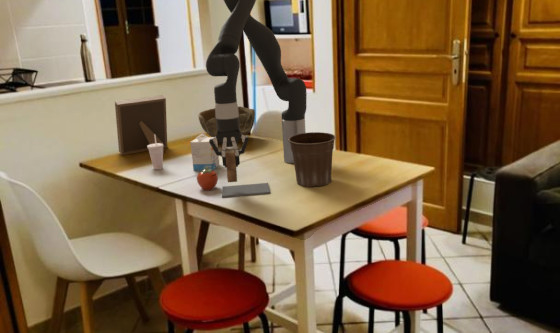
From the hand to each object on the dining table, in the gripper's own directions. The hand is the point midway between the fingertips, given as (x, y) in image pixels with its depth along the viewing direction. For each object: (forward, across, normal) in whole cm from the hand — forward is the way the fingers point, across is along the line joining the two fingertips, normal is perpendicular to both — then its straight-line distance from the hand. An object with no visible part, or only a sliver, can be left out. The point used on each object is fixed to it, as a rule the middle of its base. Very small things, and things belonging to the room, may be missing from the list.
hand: (231, 166), depth 175 cm
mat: (+9, -4, 0) cm, 10 cm away
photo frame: (+9, +40, -68) cm, 79 cm away
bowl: (+9, +2, -77) cm, 77 cm away
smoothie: (+9, +31, -39) cm, 51 cm away
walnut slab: (+4, 0, +1) cm, 4 cm away
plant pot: (+9, -28, -4) cm, 30 cm away
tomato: (+9, +9, -6) cm, 15 cm away
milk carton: (+9, +11, -34) cm, 37 cm away
